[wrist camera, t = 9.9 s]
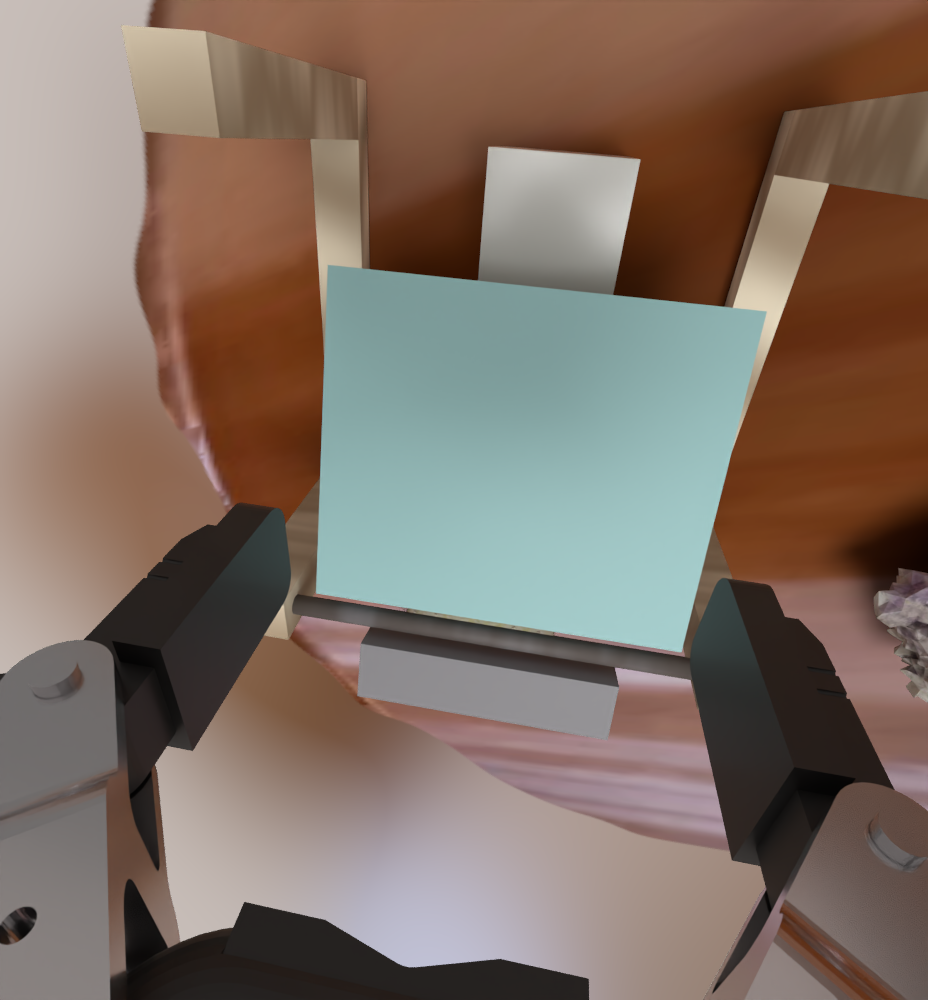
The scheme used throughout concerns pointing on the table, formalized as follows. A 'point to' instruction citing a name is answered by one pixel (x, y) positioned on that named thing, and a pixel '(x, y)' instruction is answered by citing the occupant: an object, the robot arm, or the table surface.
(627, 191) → the grey cube
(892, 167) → the frame
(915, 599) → the geode
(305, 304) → the table surface
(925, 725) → the table surface
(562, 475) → the trapdoor
